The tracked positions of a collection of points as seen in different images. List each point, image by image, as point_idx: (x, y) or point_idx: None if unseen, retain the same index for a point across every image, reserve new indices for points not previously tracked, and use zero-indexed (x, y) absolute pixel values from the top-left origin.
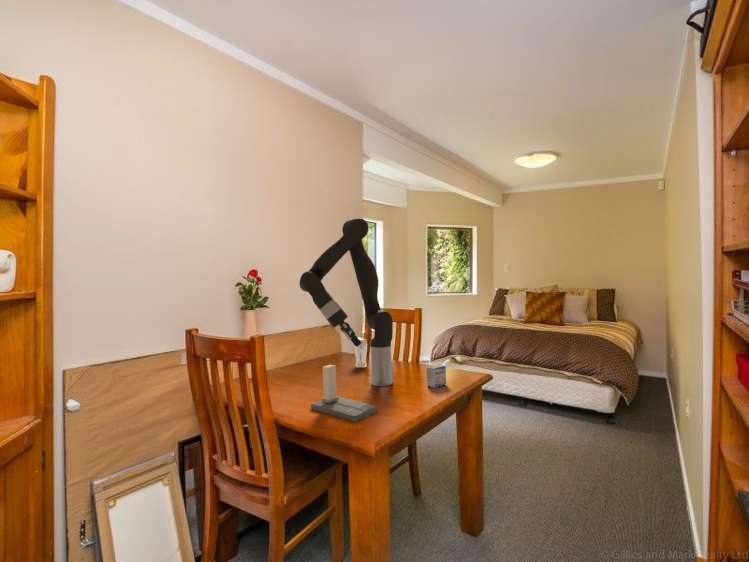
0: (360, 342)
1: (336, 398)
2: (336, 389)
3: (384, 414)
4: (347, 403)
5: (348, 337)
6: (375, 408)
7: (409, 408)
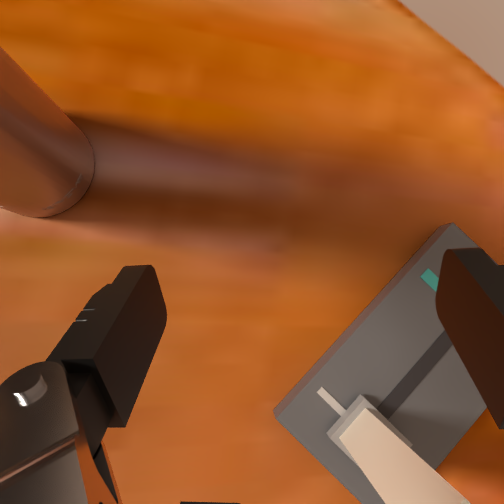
0: (480, 260)
1: (374, 407)
2: (380, 421)
3: (468, 202)
4: (403, 350)
5: (116, 484)
6: (459, 231)
7: (414, 100)
